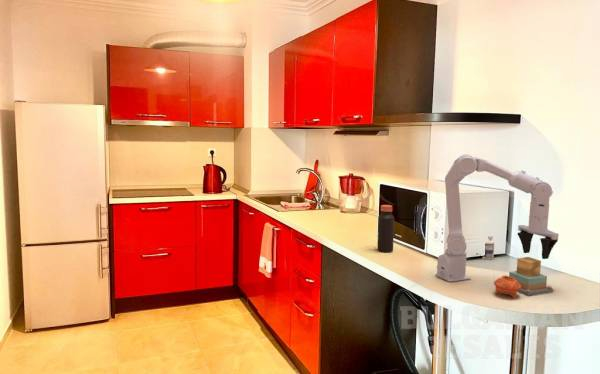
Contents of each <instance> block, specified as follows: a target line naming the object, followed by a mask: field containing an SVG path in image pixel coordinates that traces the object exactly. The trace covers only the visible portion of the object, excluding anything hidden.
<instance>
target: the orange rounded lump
mask: <svg viewBox="0 0 600 374" xmlns="http://www.w3.org/2000/svg"><path fill="white" fill-rule="evenodd" d="M493 285H494V287H495V288H494V289H495V294H496V295H497V294H498V295H499V293H503V294H506V295H510V296H511V298H512V299H513V298H516V294H517V293H519V292H518V291H520V289H521V285H520V284H519V282H518V281H516V280H515V278H513V277H509V275H502V276H500V277H498V278H496V280H494V282H493Z"/></svg>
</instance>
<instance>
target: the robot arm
mask: <svg viewBox="0 0 600 374" xmlns="http://www.w3.org/2000/svg"><path fill="white" fill-rule="evenodd" d="M475 172H477V173H480V172H481V173H482V172H487V173H489V174H491V175H493V176H496V177H499V178H502V179H504V180H507V182H508V185H509V187H512V188H515V189H517V190H518V191H519V190H520V191H521V192H523V193H526V194H530V203H529V215H528V225H526V224H518V225H517V226H518V227H517V231H518V232H517V236H518V238H519V240H520V243H521V245H522V251H523V254H530V252H531V247H532V246H531V245H532V241H533V237H534V235H537V236H540V237H541V238H539V240H540V244H541V258H542V260H547V259H549V258H550V255H551V252H552V250H553V248H554V246H555V245H556V244H557V243H558V241H559V235H560V233H558V232H555V231H553V230H552V231H551V230H549V229H548V227H549V226H548V223H549V215H550V214H549V213H550V198H551V197H552V195H553V193H554V191H553V188H552V186H551V185H550V184H549V183H548V182H545V180H544V181H543V180H542V179H540V177H538V176H535V177H534V176H533V175H532V176H531V175H529V174H528V173H527V171H525V170H522V169H521V170H519V169H517V170H515V171H510V170H508V169H507V168H504V167H502V166H499V165H498V164H495V163H493V162H492V161H489V160H487V159H484V158H481V157H477V156H472V155H470V154H467V153H466V154H462V155H460V156H459V157H458V158H456V159H455V160H454V161H453V163H452V165H451V166H450V168H449V170H448V171H447V173H446V175H445V177H444V182H445V183H444V184H445V185H444V187H445V199H446V209H447V223H448V225H447V226H448V235H447V237H446V243H447V245H446V246H447V248H446V249H445V252H444V253H443V254H441V255H439V256H438V258H437V266H436V267H437V268H436V273H435V276H436V277H438V278H441V279H442V280H445V281H446V282H447V281H448V282H449V283H451V282H452V283H453V282H458V281H465V280H471V278H472V277H470V276H468V275H467V274H466V271H467V269H466V268H467V251H466V250H467V243H466V239H465V236H464V235H463V225H462V211H461V200H460V199H461V198H460V185H459V184H460V183H461V181H463V180H464V179H465V177H467V176H469V175H471V174H473V173H475Z"/></svg>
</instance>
